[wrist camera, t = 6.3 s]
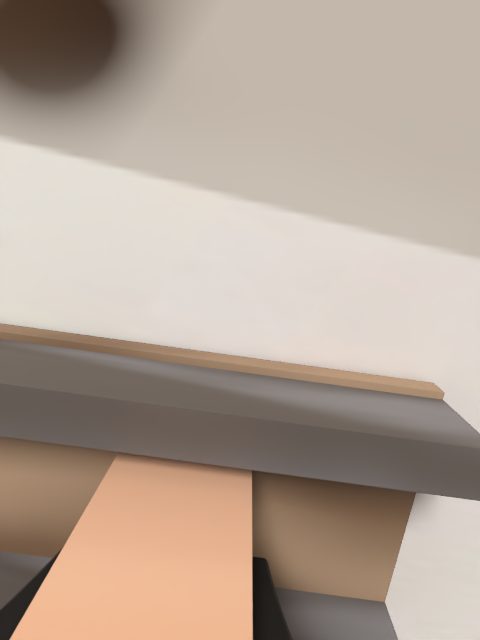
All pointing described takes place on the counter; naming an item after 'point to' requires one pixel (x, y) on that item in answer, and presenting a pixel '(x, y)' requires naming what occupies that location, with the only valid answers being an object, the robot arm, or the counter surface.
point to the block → (153, 558)
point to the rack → (232, 459)
